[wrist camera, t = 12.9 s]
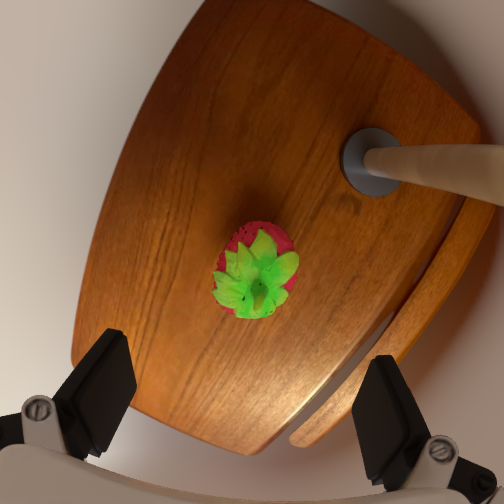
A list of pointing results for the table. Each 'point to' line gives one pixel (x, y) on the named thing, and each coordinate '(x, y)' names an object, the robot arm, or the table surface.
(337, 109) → the table surface
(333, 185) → the table surface
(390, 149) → the post
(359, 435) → the robot arm
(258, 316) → the strawberry
